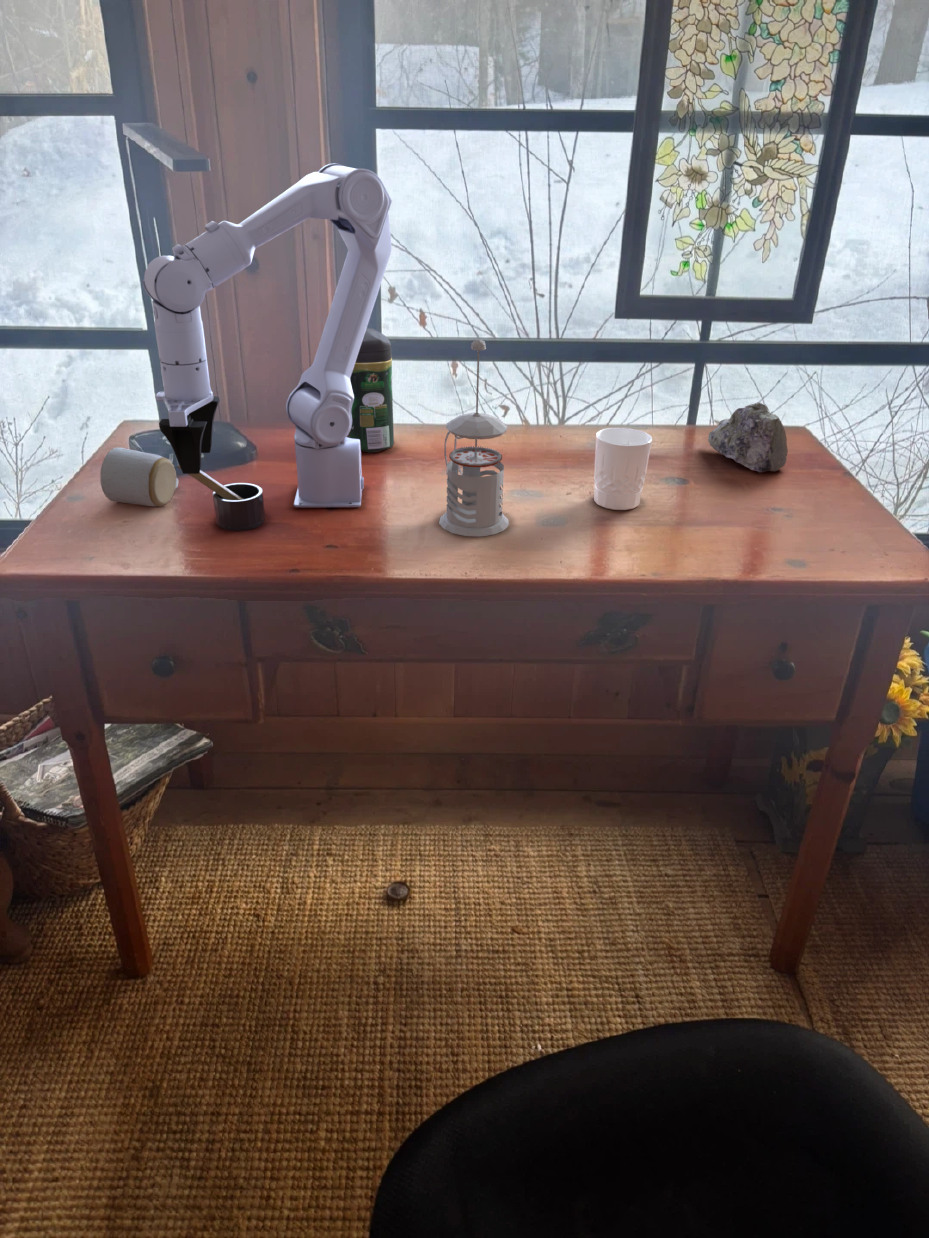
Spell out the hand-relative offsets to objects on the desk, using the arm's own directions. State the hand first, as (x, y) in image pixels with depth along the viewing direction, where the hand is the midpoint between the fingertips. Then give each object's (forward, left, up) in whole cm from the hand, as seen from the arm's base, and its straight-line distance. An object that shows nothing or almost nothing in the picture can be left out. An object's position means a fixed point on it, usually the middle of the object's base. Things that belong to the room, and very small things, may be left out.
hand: (197, 462), depth 121 cm
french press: (-37, 0, -9) cm, 38 cm away
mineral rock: (-84, -23, -9) cm, 87 cm away
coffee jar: (-22, -31, -9) cm, 39 cm away
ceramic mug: (+10, -8, -9) cm, 15 cm away
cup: (-5, 0, -9) cm, 10 cm away
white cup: (-59, -6, -9) cm, 60 cm away
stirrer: (-3, 0, -4) cm, 5 cm away
